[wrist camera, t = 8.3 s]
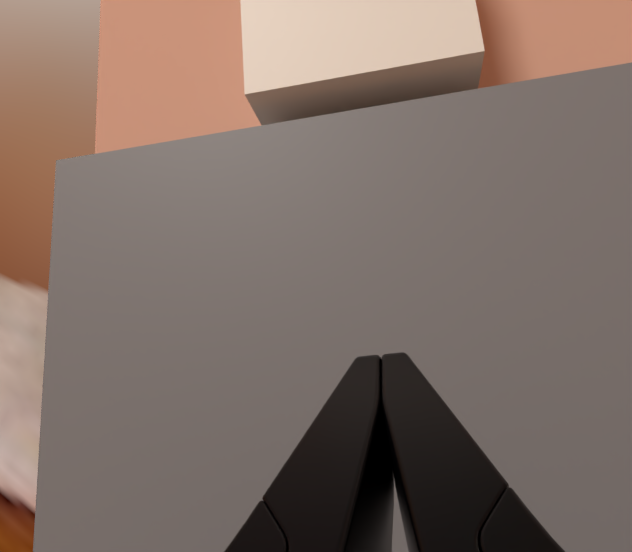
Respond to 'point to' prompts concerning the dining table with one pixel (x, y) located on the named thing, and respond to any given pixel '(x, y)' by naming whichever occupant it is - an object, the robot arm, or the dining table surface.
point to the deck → (342, 307)
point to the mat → (227, 59)
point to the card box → (355, 53)
